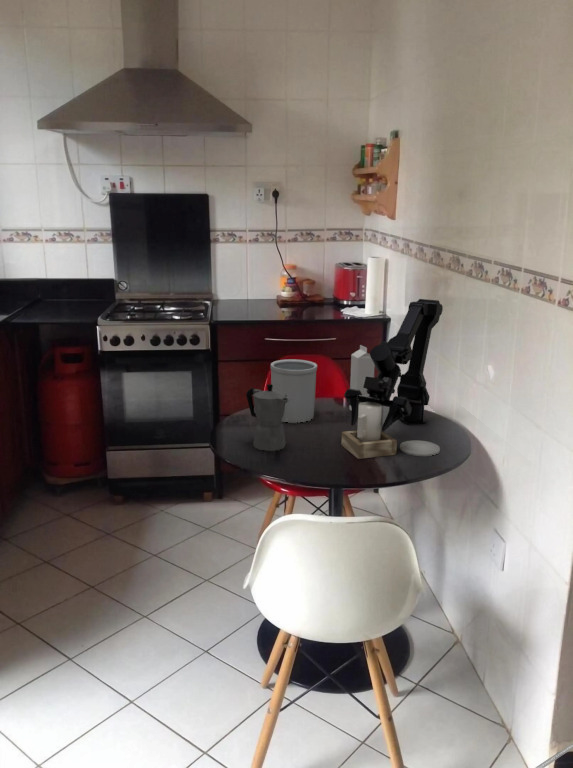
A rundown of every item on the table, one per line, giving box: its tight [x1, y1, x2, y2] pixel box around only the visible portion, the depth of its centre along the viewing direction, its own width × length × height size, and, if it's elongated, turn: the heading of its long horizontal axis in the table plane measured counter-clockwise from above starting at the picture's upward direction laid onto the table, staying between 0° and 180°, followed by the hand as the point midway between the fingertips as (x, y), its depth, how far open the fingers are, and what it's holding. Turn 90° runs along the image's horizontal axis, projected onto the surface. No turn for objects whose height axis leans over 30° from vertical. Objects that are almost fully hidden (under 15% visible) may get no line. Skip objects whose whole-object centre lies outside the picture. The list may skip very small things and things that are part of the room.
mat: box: [399, 439, 441, 457], centre depth 188 cm, size 11×11×1 cm
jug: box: [356, 402, 383, 442], centre depth 184 cm, size 9×6×13 cm
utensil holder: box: [270, 358, 318, 424], centre depth 214 cm, size 15×15×18 cm
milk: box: [348, 344, 376, 412], centre depth 221 cm, size 6×6×22 cm
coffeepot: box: [245, 383, 289, 452], centre depth 188 cm, size 15×9×18 cm, turn 49°
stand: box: [340, 429, 398, 460], centre depth 187 cm, size 11×11×4 cm
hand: (367, 427), depth 185 cm, fingers open, 9 cm apart
